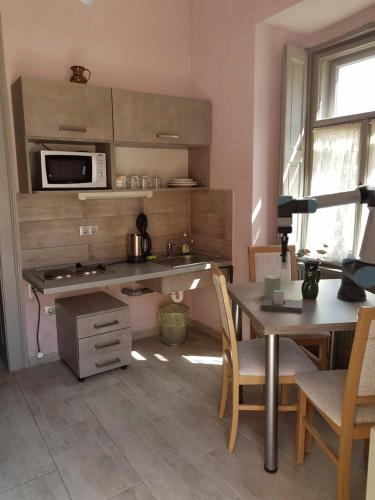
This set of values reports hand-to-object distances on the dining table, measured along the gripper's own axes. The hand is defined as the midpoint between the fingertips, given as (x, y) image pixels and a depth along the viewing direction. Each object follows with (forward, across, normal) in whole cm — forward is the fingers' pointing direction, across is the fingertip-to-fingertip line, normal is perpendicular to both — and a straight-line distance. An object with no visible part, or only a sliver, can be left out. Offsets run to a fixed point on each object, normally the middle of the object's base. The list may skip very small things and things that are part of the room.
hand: (284, 266), depth 207 cm
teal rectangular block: (+20, +4, -3) cm, 21 cm away
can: (+21, -16, -7) cm, 28 cm away
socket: (+21, +4, -1) cm, 22 cm away
